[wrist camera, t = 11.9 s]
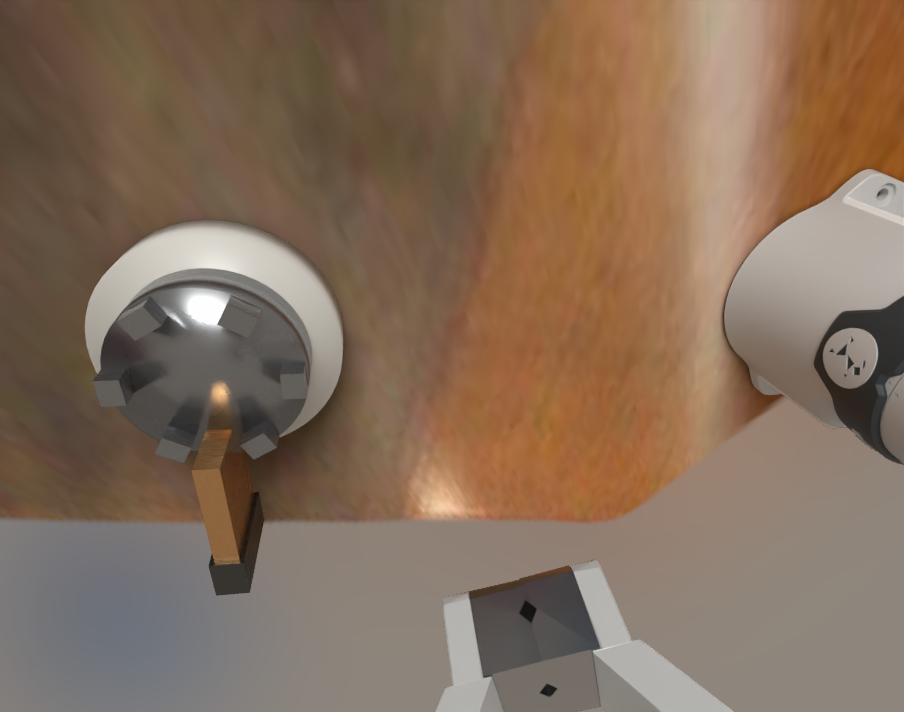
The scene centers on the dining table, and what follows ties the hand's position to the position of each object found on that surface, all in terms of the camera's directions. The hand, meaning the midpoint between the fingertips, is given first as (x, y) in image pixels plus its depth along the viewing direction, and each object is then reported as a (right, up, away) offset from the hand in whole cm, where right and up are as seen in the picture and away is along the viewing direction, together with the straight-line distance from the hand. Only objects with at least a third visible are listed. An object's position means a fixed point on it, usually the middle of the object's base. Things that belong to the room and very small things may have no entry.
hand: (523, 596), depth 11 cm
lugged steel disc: (-17, +1, +29) cm, 33 cm away
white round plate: (-17, +6, +29) cm, 35 cm away
